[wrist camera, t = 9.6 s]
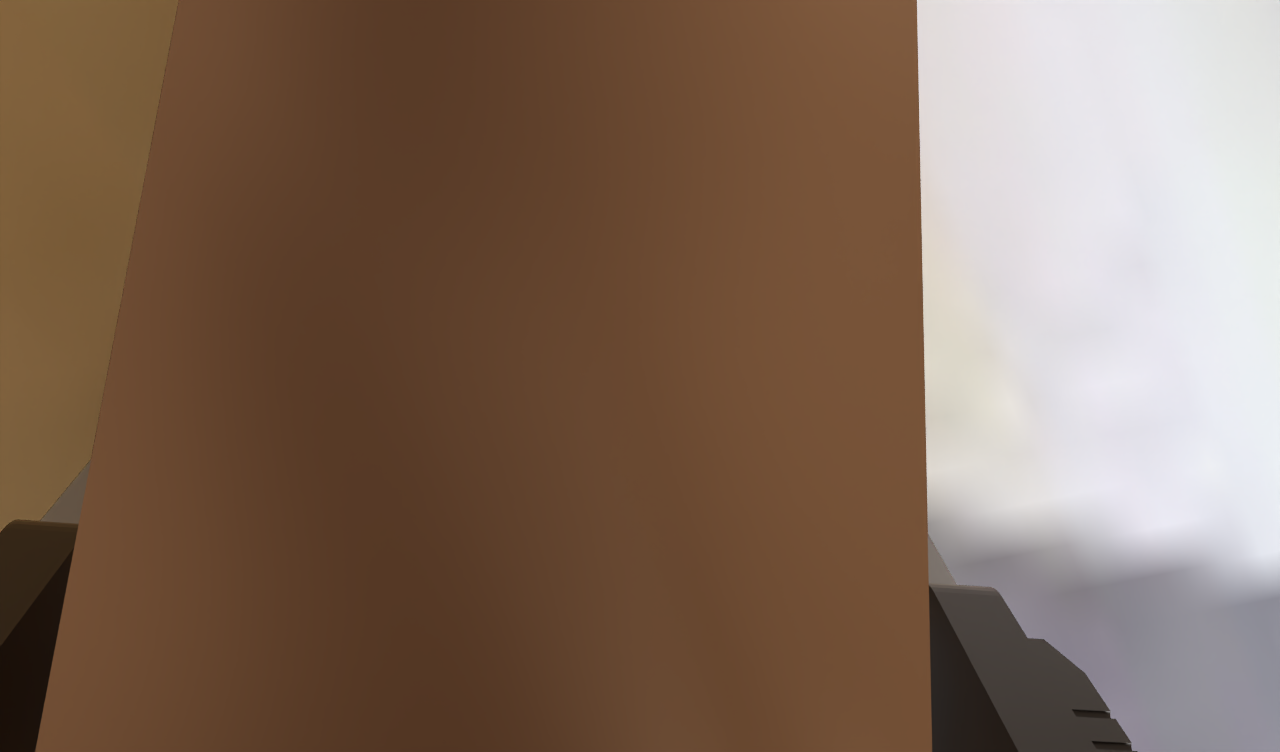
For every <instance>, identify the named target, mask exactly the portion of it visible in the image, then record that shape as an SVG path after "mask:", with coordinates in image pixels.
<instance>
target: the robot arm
mask: <svg viewBox="0 0 1280 752" xmlns="http://www.w3.org/2000/svg"><path fill="white" fill-rule="evenodd" d="M78 525H79V524H75V523H61V522H46V521H31V520H14V521H12V522H11V523H9V524H8V525H7V526H6V527H5V528H4V529H3V530H2V531H1V532H0V752H35V750H36V745H37V739H38V734H39V729H40V724H41V719H42V713H43V708H44V703H45V698H46V692H47V687H48V682H49V677H50V672H51V666H52V661H53V656H54V651H55V645H56V640H57V635H58V630H59V624H60V619H61V614H62V609H63V604H64V598H65V593H66V588H67V583H68V577H69V572H70V567H71V562H72V556H73V551H74V546H75V541H76V536H77V530H78ZM929 621H930V669H931V717H932V752H1137V751H1132V749H1131V744H1132V743H1131V741H1130V740H1129V738H1128V737H1127V735H1126V734H1125V732H1124V731H1123V729H1122V728H1121V726H1120V725H1119V723H1118V722H1117V720H1116V719H1111V718H1110V710H1109V708H1108V707H1107V705H1106V704H1105V702H1104V701H1103V699H1102V698H1101V696H1100V695H1099V693H1098V692H1097V690H1096V689H1095V687H1094V686H1093V684H1092V683H1091V682H1090V680H1089V679H1088V677H1087V676H1086V674H1085V673H1084V672H1083V671H1082V670H1080V669H1079V668H1078V667H1077V666H1076V665H1074V664H1073V663H1072V662H1071V661H1069V660H1068V659H1067V658H1066V657H1065V656H1063V655H1062V654H1061V653H1060V652H1059V651H1057V650H1056V649H1055V648H1054V647H1052V646H1051V645H1050V644H1049V643H1048V642H1046V641H1045V640H1044V639H1030V638H1027V637H1026V635H1025V633H1024V632H1023V630H1022V629H1021V627H1020V625H1019V624H1018V622H1017V621H1016V619H1015V617H1014V616H1013V614H1012V612H1011V611H1010V609H1009V608H1008V606H1007V604H1006V603H1005V601H1004V600H1003V598H1002V596H1001V595H1000V594H999V592H998V591H997V590H995V589H994V588H992V587H982V586H967V585H952V584H937V583H929Z"/></svg>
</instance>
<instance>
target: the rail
mask: <svg viewBox="0 0 1280 752" xmlns="http://www.w3.org/2000/svg"><path fill="white" fill-rule="evenodd" d="M35 752H932V717H931V669H930V621H929V573H928V524H927V476H926V428H925V380H924V332H923V283H922V235H921V187H920V139H919V90H918V42H917V0H179V2H178V8H177V13H176V18H175V23H174V28H173V34H172V39H171V44H170V49H169V55H168V60H167V65H166V70H165V75H164V81H163V86H162V91H161V96H160V102H159V107H158V112H157V117H156V123H155V128H154V133H153V138H152V143H151V149H150V154H149V159H148V164H147V170H146V175H145V180H144V185H143V191H142V196H141V201H140V206H139V211H138V217H137V222H136V227H135V232H134V238H133V243H132V248H131V253H130V258H129V264H128V269H127V274H126V279H125V285H124V290H123V295H122V300H121V306H120V311H119V316H118V321H117V326H116V332H115V337H114V342H113V347H112V353H111V358H110V363H109V368H108V374H107V379H106V384H105V389H104V394H103V400H102V405H101V410H100V415H99V421H98V426H97V431H96V436H95V441H94V447H93V452H92V457H91V462H90V468H89V473H88V478H87V483H86V489H85V494H84V499H83V504H82V509H81V515H80V520H79V525H78V530H77V536H76V541H75V546H74V551H73V556H72V562H71V567H70V572H69V577H68V583H67V588H66V593H65V598H64V604H63V609H62V614H61V619H60V624H59V630H58V635H57V640H56V645H55V651H54V656H53V661H52V666H51V672H50V677H49V682H48V687H47V692H46V698H45V703H44V708H43V713H42V719H41V724H40V729H39V734H38V739H37V745H36V750H35Z"/></svg>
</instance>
